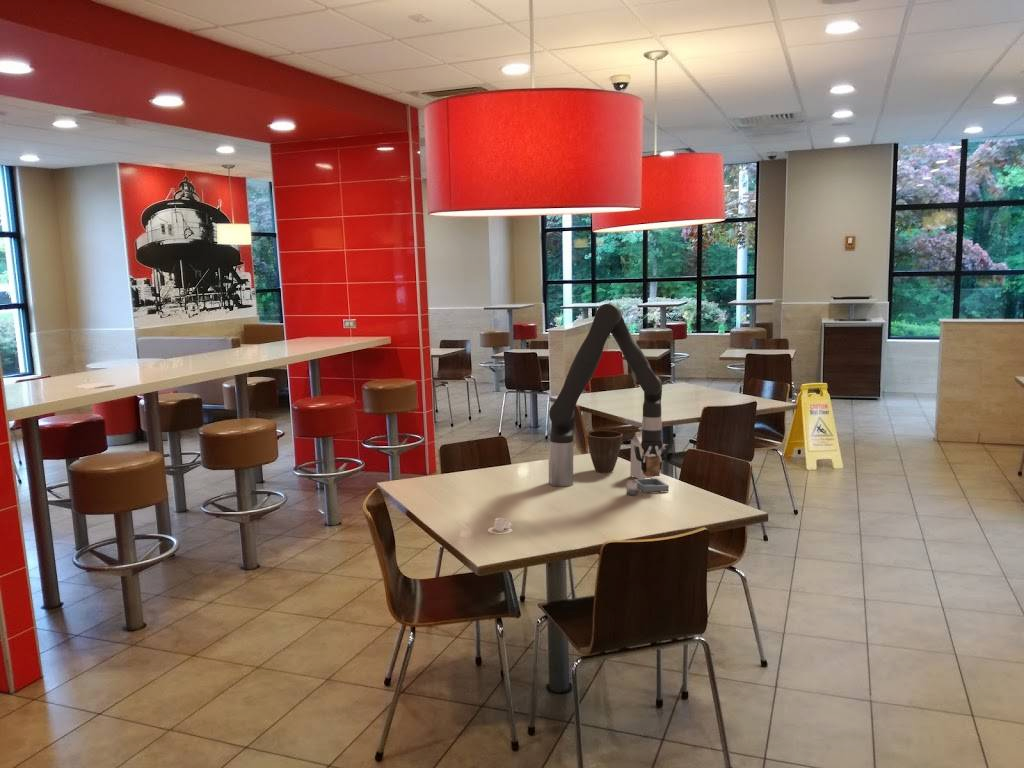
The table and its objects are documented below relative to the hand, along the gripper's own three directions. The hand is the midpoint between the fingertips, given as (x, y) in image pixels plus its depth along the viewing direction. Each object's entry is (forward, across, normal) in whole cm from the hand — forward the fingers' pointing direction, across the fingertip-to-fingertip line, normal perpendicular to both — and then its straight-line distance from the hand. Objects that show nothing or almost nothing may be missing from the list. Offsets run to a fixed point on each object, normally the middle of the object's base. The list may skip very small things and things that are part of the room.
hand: (651, 471), depth 318 cm
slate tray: (+7, 0, 0) cm, 7 cm away
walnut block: (+1, 0, 0) cm, 1 cm away
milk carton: (+7, +3, +18) cm, 20 cm away
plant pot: (+7, -9, +32) cm, 34 cm away
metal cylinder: (+7, -10, -7) cm, 14 cm away
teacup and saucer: (+7, -64, -42) cm, 77 cm away
